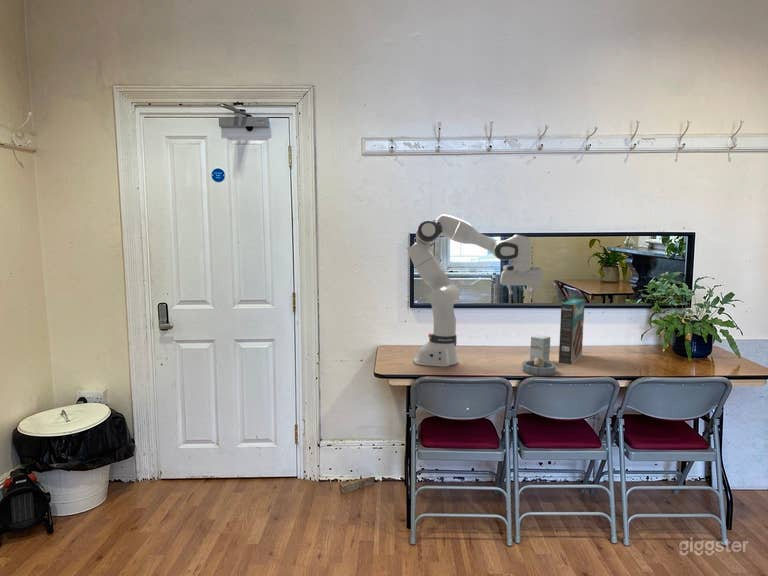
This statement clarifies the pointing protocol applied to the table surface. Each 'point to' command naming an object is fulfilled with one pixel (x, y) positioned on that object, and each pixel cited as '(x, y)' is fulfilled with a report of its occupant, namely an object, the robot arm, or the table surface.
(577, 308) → the cake mix box
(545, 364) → the round dish
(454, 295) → the robot arm
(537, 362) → the wooden bead
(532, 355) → the supplement box
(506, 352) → the table surface
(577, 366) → the table surface
